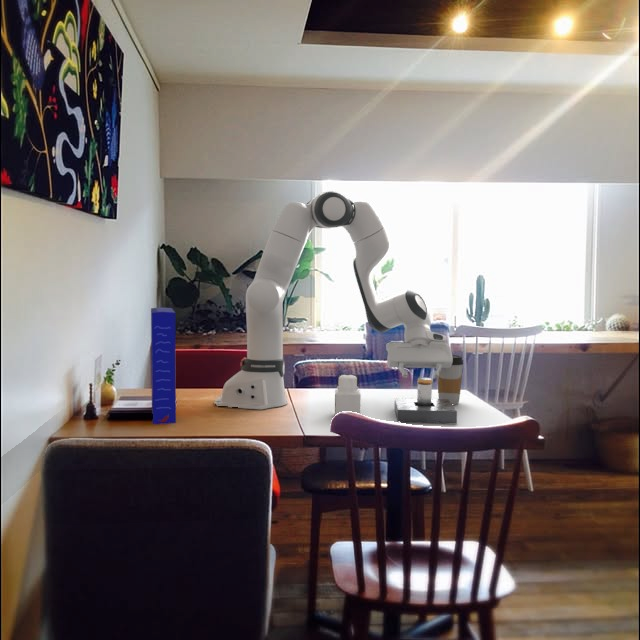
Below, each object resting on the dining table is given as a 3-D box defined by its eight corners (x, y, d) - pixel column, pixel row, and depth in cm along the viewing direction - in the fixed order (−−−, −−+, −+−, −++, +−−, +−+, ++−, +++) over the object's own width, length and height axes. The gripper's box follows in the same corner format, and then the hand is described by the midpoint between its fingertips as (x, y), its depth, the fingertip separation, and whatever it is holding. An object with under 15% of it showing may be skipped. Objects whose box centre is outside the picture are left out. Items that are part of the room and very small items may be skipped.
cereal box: (175, 422, 164) (175, 311, 162) (152, 424, 162) (152, 311, 160) (172, 406, 185) (171, 307, 182) (151, 407, 183) (151, 307, 181)
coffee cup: (462, 406, 189) (464, 358, 188) (435, 404, 191) (436, 357, 190) (461, 400, 197) (463, 355, 196) (435, 399, 199) (436, 354, 198)
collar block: (397, 422, 167) (398, 409, 167) (394, 409, 183) (394, 398, 183) (456, 423, 166) (457, 411, 166) (448, 410, 182) (448, 399, 182)
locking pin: (417, 417, 173) (418, 379, 172) (416, 414, 177) (416, 377, 176) (431, 418, 173) (432, 379, 172) (430, 414, 177) (431, 377, 176)
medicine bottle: (334, 413, 178) (335, 372, 177) (359, 413, 178) (360, 372, 177) (334, 418, 171) (335, 376, 170) (360, 419, 171) (360, 376, 170)
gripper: (386, 335, 193) (387, 370, 184) (451, 336, 192) (455, 371, 183) (385, 347, 198) (386, 382, 189) (448, 348, 197) (452, 383, 188)
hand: (420, 377), depth 186 cm, fingers open, 8 cm apart
